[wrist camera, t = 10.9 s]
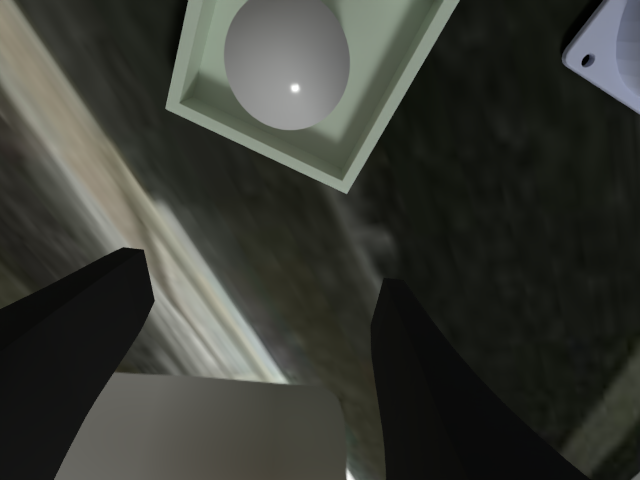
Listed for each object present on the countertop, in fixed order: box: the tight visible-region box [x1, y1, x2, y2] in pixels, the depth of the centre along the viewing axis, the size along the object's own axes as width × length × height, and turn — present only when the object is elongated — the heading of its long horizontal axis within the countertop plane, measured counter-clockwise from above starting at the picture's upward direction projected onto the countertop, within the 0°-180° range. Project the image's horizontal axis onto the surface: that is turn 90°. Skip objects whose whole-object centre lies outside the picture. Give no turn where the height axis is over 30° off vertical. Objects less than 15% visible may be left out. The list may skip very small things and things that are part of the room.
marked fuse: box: [224, 0, 350, 130], centre depth 12 cm, size 4×4×6 cm
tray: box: [165, 0, 459, 194], centre depth 14 cm, size 9×9×2 cm
